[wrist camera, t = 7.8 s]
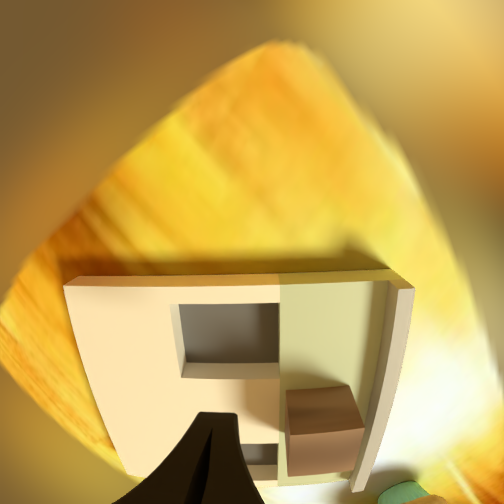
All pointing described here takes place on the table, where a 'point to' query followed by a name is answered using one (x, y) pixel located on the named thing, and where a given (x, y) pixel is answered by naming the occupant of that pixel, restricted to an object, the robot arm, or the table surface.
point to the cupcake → (409, 495)
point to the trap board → (239, 357)
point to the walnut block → (321, 430)
